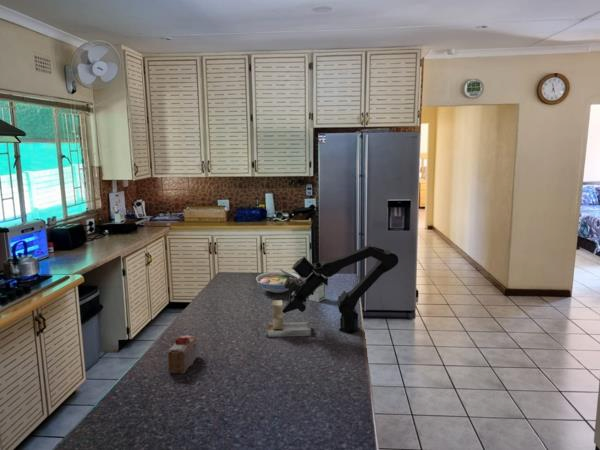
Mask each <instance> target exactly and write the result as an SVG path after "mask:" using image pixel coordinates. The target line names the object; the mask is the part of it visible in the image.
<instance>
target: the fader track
mask: <svg viewBox="0 0 600 450" xmlns="http://www.w3.org/2000/svg"><path fill="white" fill-rule="evenodd" d="M265 325H266V327H265V337H266V338H275V337H276V338H278V337H280V338H281V337H303V336H304V337H305V336H306V337H308V336H311V337H312V326H311V322H310V321H302V322H301V321H300V322H297V321H295V322H283V330H273V322H272V323H269V322H268V323H266V324H265Z"/></svg>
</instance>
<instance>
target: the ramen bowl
mask: <svg viewBox="0 0 600 450" xmlns="http://www.w3.org/2000/svg"><path fill="white" fill-rule="evenodd" d="M278 269H279V268H278ZM287 278H290V279H293V280H295V281H297V282H299V283H300V282H301V281H303V279H301V276H300V275H299V274H298V273H296V272H291V271H285V270H283V269H279V271H268V272H265V273H261V274H258V275H257V276H256V278H255V280H256V282H257V283H258V285H259V286H260V287H261V288H262V289H263V290H265V291H267V292H271V293H273V294H282V293H285V292H287V291H289V290H290V289H286V288H285V287H284V284H285V281H286V279H287ZM290 291H291V290H290Z"/></svg>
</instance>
